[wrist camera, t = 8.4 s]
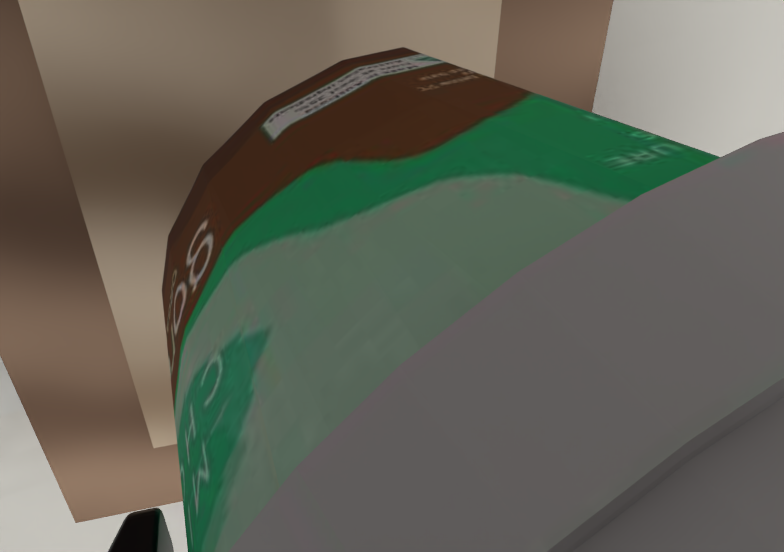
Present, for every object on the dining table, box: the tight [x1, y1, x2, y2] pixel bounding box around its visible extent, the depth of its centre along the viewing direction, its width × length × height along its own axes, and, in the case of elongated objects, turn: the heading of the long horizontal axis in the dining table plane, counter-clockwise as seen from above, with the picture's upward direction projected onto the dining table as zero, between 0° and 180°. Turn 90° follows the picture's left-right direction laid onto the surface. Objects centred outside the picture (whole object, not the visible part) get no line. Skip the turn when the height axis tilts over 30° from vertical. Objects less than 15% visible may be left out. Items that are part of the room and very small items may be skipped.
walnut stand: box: [0, 0, 613, 523], centre depth 17 cm, size 22×16×3 cm
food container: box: [162, 47, 784, 552], centre depth 9 cm, size 12×6×10 cm, turn 0°
